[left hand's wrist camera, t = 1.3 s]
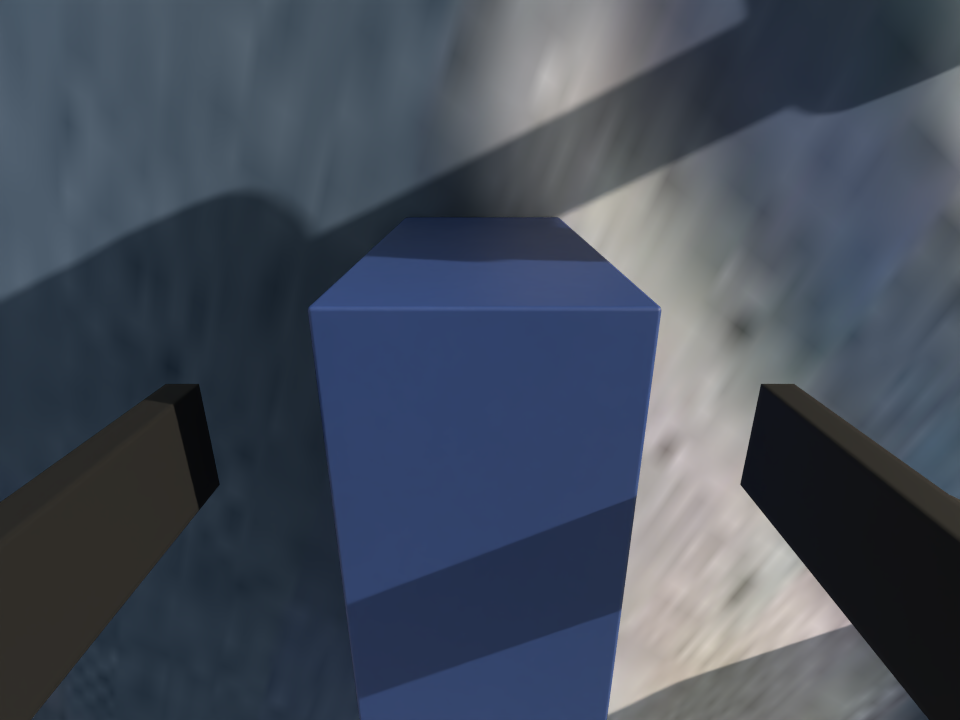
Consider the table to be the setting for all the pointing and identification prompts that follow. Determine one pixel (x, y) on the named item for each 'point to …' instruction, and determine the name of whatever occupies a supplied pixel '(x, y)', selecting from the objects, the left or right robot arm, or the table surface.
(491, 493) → the box
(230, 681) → the table surface
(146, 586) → the table surface
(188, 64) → the table surface
